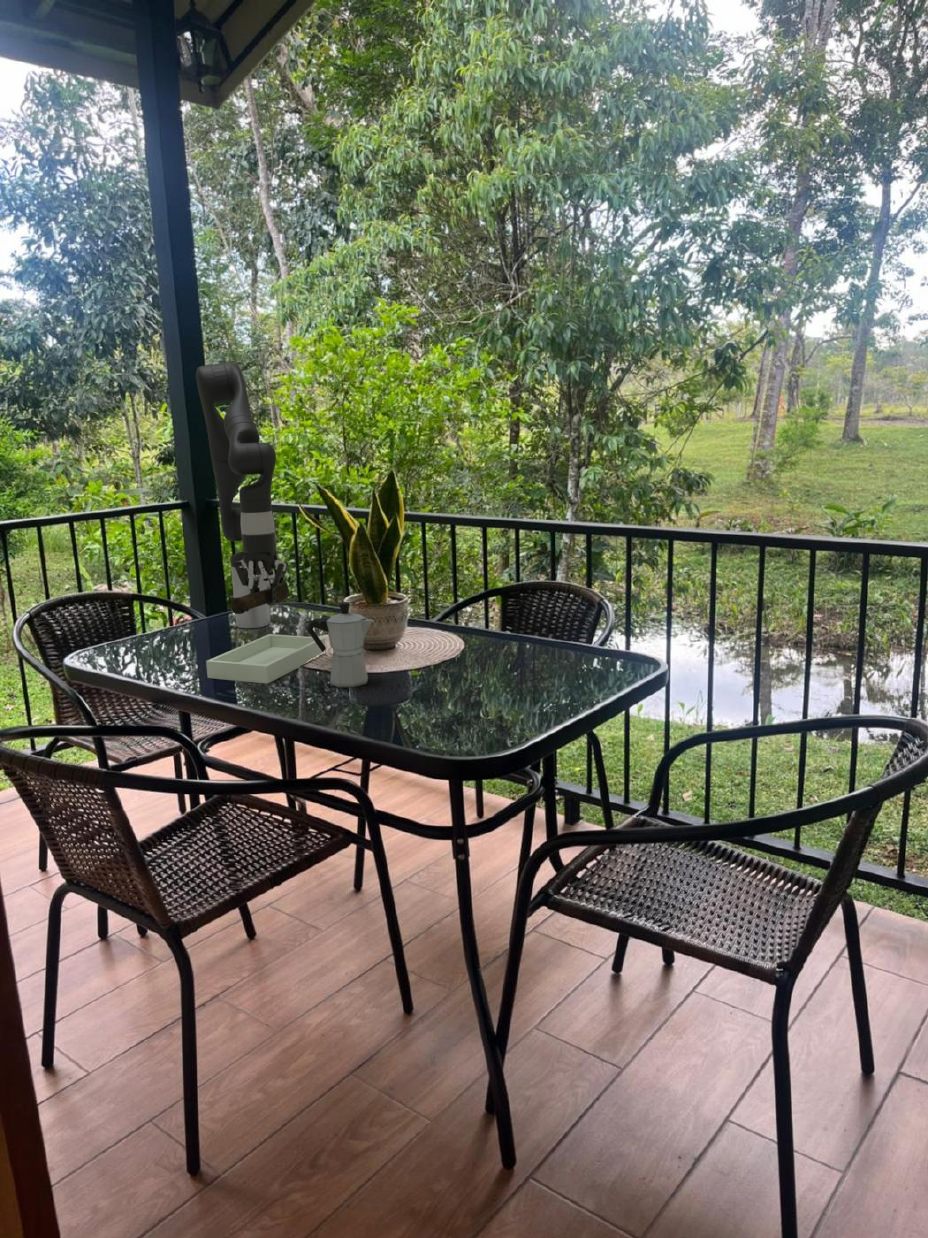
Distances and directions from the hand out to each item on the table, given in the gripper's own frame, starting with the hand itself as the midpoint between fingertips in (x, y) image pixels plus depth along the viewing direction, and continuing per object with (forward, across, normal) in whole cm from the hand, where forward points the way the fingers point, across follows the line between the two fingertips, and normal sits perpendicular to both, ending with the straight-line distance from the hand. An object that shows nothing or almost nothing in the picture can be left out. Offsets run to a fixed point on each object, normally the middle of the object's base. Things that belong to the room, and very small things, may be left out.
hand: (263, 603), depth 218 cm
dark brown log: (+1, 0, 0) cm, 1 cm away
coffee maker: (+15, -24, +7) cm, 29 cm away
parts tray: (+15, 0, 0) cm, 15 cm away
